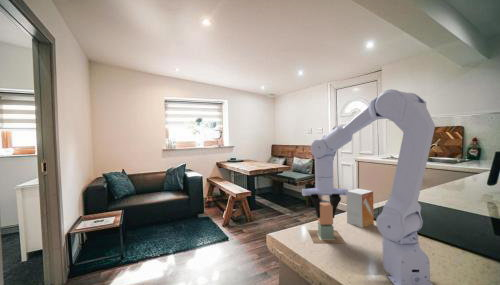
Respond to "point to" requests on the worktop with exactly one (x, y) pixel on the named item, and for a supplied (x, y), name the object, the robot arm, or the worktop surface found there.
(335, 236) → the build board
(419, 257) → the robot arm
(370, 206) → the small box
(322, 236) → the green block
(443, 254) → the worktop surface
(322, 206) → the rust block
